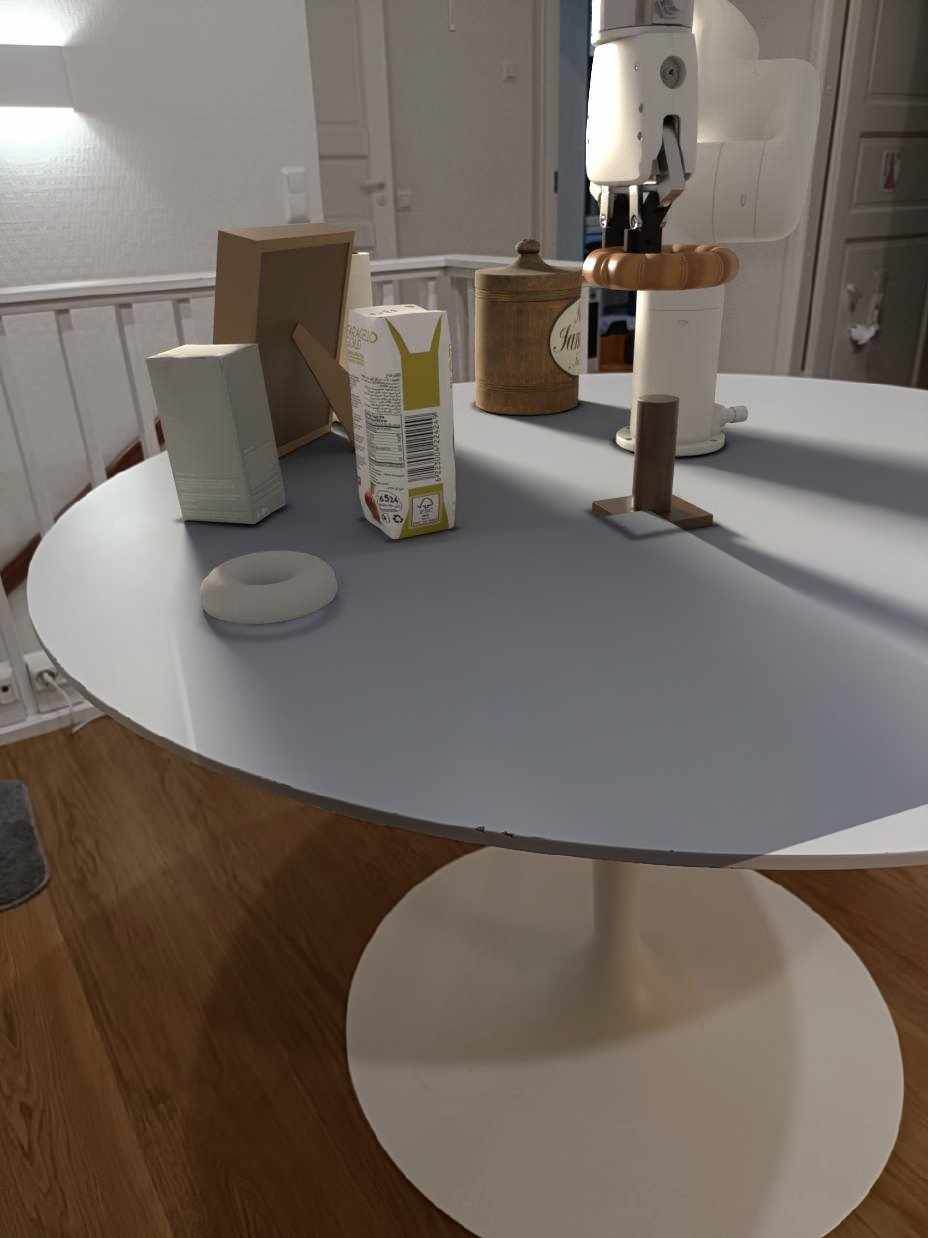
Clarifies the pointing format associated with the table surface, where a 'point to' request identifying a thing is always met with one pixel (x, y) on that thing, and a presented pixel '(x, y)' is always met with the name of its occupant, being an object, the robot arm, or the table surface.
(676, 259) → the ring
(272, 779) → the table surface
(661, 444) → the post
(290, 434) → the photo frame
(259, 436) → the cosmetic box
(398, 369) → the juice carton
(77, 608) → the table surface
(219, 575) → the donut
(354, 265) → the paper towel roll
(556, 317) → the wooden container
